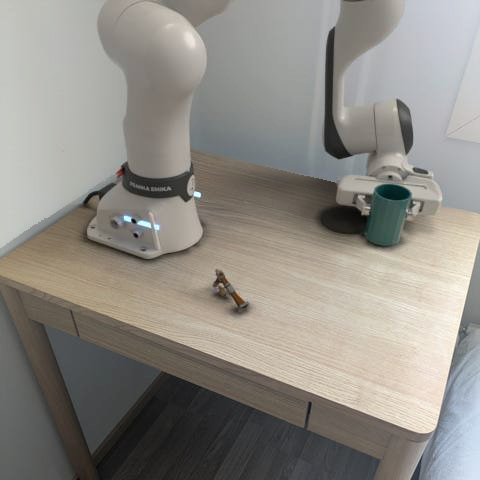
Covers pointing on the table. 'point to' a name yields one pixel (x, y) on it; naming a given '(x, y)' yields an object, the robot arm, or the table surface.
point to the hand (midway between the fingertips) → (388, 214)
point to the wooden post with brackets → (229, 290)
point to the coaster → (344, 220)
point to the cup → (387, 214)
